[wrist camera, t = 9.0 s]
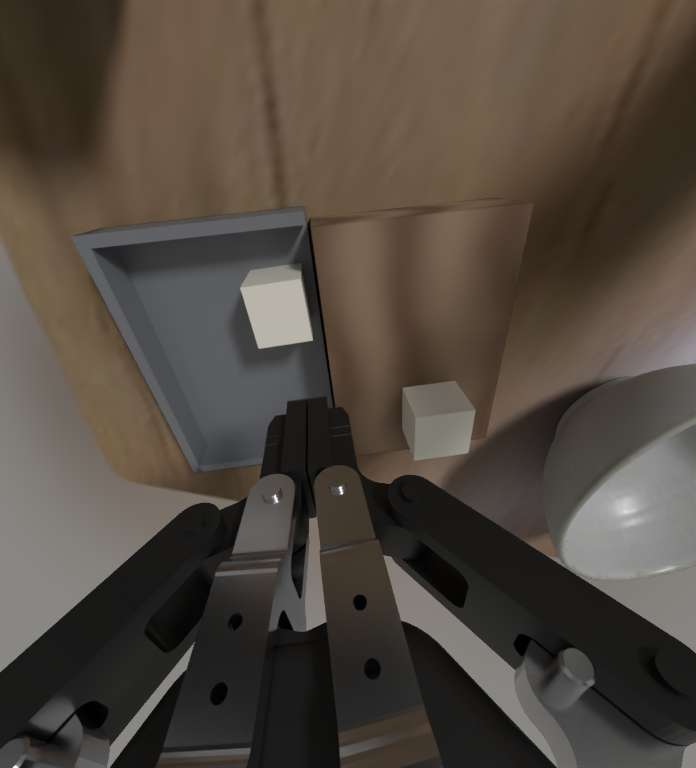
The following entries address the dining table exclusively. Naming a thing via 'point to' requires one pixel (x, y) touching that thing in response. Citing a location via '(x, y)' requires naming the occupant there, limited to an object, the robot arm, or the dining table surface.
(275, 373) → the tray
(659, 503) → the decorative bowl
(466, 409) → the off-white cube
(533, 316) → the dining table surface
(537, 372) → the dining table surface
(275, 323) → the cream cube
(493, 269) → the walnut board
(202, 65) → the dining table surface
